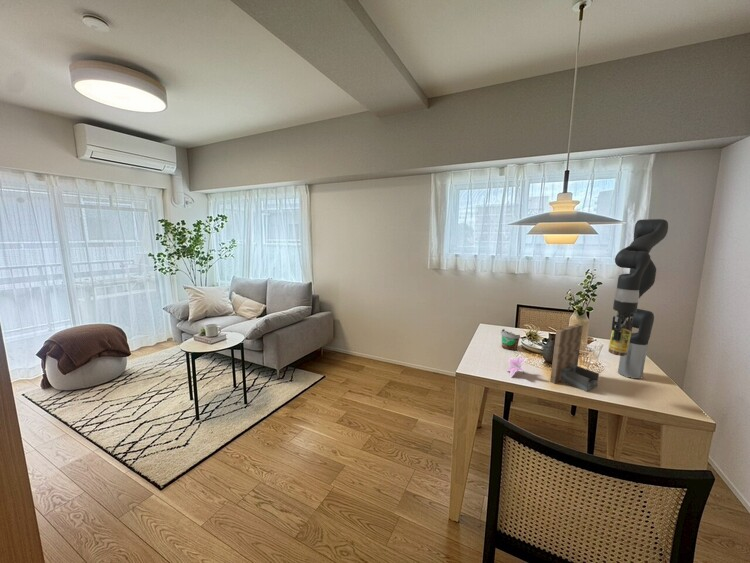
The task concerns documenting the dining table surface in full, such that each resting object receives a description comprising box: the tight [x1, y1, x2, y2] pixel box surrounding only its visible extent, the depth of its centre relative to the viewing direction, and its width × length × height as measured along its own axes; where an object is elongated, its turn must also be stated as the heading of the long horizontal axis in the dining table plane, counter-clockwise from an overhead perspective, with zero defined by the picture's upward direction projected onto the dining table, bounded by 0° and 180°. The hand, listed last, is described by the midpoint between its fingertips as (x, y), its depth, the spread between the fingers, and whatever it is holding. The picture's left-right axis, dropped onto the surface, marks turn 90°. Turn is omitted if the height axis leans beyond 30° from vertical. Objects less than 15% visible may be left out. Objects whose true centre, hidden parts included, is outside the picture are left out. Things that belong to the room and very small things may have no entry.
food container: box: [500, 328, 521, 352], centre depth 178 cm, size 12×6×10 cm, turn 25°
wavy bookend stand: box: [549, 323, 600, 392], centre depth 137 cm, size 20×13×25 cm, turn 121°
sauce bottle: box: [608, 313, 634, 357], centre depth 124 cm, size 6×6×20 cm
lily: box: [506, 354, 528, 378], centre depth 146 cm, size 12×12×10 cm
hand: (620, 338), depth 125 cm, fingers closed on sauce bottle, 6 cm apart
